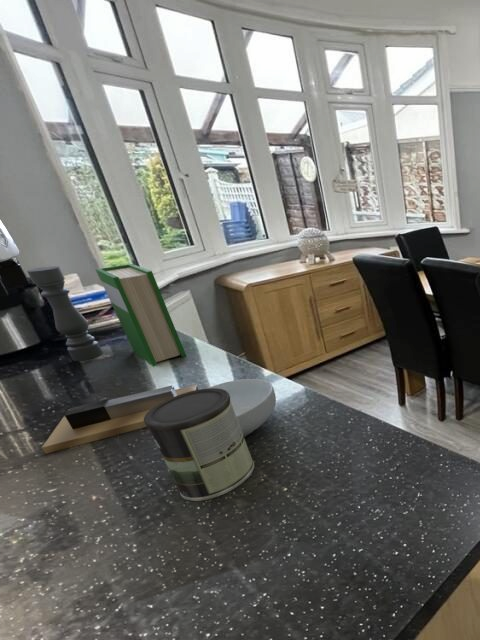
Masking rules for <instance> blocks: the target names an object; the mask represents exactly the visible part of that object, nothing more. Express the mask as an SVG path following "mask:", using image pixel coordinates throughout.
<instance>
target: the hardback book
mask: <svg viewBox="0 0 480 640" xmlns="http://www.w3.org/2000/svg"><path fill="white" fill-rule="evenodd" d="M95 271H96V273H97V275H98V278H99V281H100V282H101V284H102V286H103V288H104V290H105V291H104V292H105V293H106V295H107V297H108V299H109V301H110V304H111V306H112V308H113V310H114V312H115V315H116V317H117V319H118V321H119V323H120V326H121V327H122V329H123V331H124V334H125V335H126V338H127V340H128V342H129V344H130V347H131V348H132V351H133V352H134V353H135V354H136V355H137V356H139V357H140V358H141V359H143V360H144V361H145V362H147V363H148V364H149V365H151V366H152V367H156V366H158V362H162V361H164V360H168V359H171V358H175V357H178V356H180V357H181V358H185V357H187V354H186V352H185V349H184V347H183V344H182V342H181V339H180V337H179V334H178V331H177V329H176V327H175V324H174V322H173V319H172V317H171V315H170V312H169V309H168V307H167V305H166V303H165V300H164V297H163V294H162V292H161V290H160V288H159V285H158V283H157V280H156V278H155V275H154V273H153V271H152V270H151V269H148V268H144V267H142V266H140V265H136V264H134V263H128V264H127V263H126V264H122V265H121V264H120V265H115V266H114V265H113V266H109V267H107V266H106V267H102V268H95Z"/></svg>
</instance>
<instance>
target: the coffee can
mask: <svg viewBox="0 0 480 640" xmlns="http://www.w3.org/2000/svg"><path fill="white" fill-rule="evenodd" d="M207 388H208V389H206V388H201V389H198V390H195V391H190V392H187V393H183V394H180V395H177V396H175V397H172V398H170V399H168V400H165V401H164V402H162V403H160V404H158V405H156V406H155V407H153V408H152V409H151V410H150V411H149V412H147V414H146V415H145V417H144V423H145V424H146V426H147V427H146V428H148V430H149V432H150V434H151V437H152V439H153V440H154V442H155V444H156V446H157V449H158V450H159V453H160V454H161V456H162V458H163V460H164V463H165V465H166V467H167V468H168V471H169V472H170V475H171V476H172V479H173V481H174V483H175V485H176V487H177V489H178V491H179V494H180V496H181V497H182V498H183V499H184V500H186V501H190V502H203V501H208V500H212V499H214V498H218V497H221V496H223V495H225V494H227V493H230V492H231V491H233V490H235V489H236V488H238V487H240V486H241V485H242V484H243V483H244V482H245V481H246V480H247V479H249V477H250V476H251V475H252V473H253V471H254V469H255V462H254V460H253V458H252V455H251V453H250V450H249V447H248V445H247V442H246V439H245V437H244V436H243V433H242V431H241V428H240V425H239V423H238V420H237V417H236V415H235V412H234V409H233V407H232V404H231V401H230V395H229V393H228V392H227V391H226V390H223V389H218V388H209V387H207Z"/></svg>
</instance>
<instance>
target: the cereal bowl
mask: <svg viewBox="0 0 480 640" xmlns="http://www.w3.org/2000/svg"><path fill="white" fill-rule="evenodd" d="M208 388H218V389H223V390H226V391H227V392H228V393H229V395H230V401H231V404H232V407H233V409H234V412H235V415H236V417H237V420H238V423H239V425H240V428H241V431H242V433H243V436H244V438H245V437H247V436H249V435H250V434H251V433H253V432H254V431H255V430H257V429H258V428H260V427H261V426H262V425H263V424H265V422H267V421H268V419H270V417H271V415H272V414H273V412H274V410H275V408H276V404H277V403H276V402H277V400H276V399H277V397H276V393H275V389H274V386H273V384H272V383H271V382H270V381H268V380H265V379H260V378H242V379H235V380H229V381H226V382H221V383H219V384H214V385H212V386H209V387H206V388H205V389H208Z"/></svg>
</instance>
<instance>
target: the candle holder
mask: <svg viewBox="0 0 480 640" xmlns="http://www.w3.org/2000/svg"><path fill="white" fill-rule="evenodd" d="M26 272H27V274H28V276H29V278H30V280H31V281H32V283H33V284H34V285H36V287H37V288H39V289H40V290H42V292H41V293H40V296H41V297H43V298H45V299H47V302H48V303H49V305H50V307H51V310H52V314H53V319H54V324H55V329H56V331H57V332H58V333H60V334H61V335H64V336H65V338H67V339H66V342H65V345H66V347H67V349H66V350H67V352H68V354H69V356H70V358H71V359H72V361H73V362H82V361H87V360H91V359H94V358H98V357H100V356H102V355H103V354H104V351H103V349H102V347H101V346H100V343H99V341H98V340H96V338H95V337H94V336H93V335H91V334H89V331H88V329H89V321H88V320H87V319H86V318H85V316H83V314H82V313H81V312H80V311H79V310H78V309H77V308H76V307H75V305H74V304H73V302H72V300H71V298H70V296H69V294H70V289H69V288H68V287H65V283H66V281H65V280H66V277H65V276H64V274H63V272H62V270H61V268H60V266H56V265H55V266H44V267H43V266H42V267H38V268H36V267H35V268H31V269H29V270H28V269H27V270H26Z"/></svg>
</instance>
